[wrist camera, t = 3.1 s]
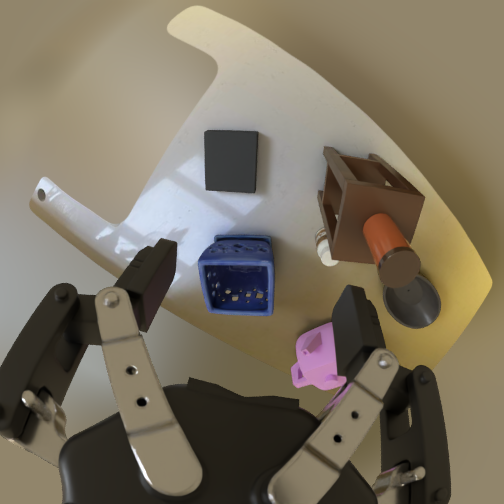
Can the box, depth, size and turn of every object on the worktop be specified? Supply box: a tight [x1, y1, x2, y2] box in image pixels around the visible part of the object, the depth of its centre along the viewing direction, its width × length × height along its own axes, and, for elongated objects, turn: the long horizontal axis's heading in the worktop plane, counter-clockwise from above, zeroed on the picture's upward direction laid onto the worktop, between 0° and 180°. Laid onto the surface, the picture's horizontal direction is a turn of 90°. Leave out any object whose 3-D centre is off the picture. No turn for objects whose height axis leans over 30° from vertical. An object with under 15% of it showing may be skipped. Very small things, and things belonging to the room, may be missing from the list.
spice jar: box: [363, 213, 420, 288], centre depth 26 cm, size 4×4×8 cm
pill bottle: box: [316, 228, 339, 266], centre depth 50 cm, size 4×4×8 cm
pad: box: [204, 130, 258, 193], centre depth 46 cm, size 11×9×2 cm
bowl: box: [383, 273, 441, 329], centre depth 55 cm, size 12×22×6 cm, turn 50°
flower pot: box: [198, 235, 275, 316], centre depth 53 cm, size 13×13×12 cm
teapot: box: [291, 322, 346, 390], centre depth 64 cm, size 19×18×15 cm
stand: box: [317, 146, 425, 264], centre depth 38 cm, size 10×10×20 cm
